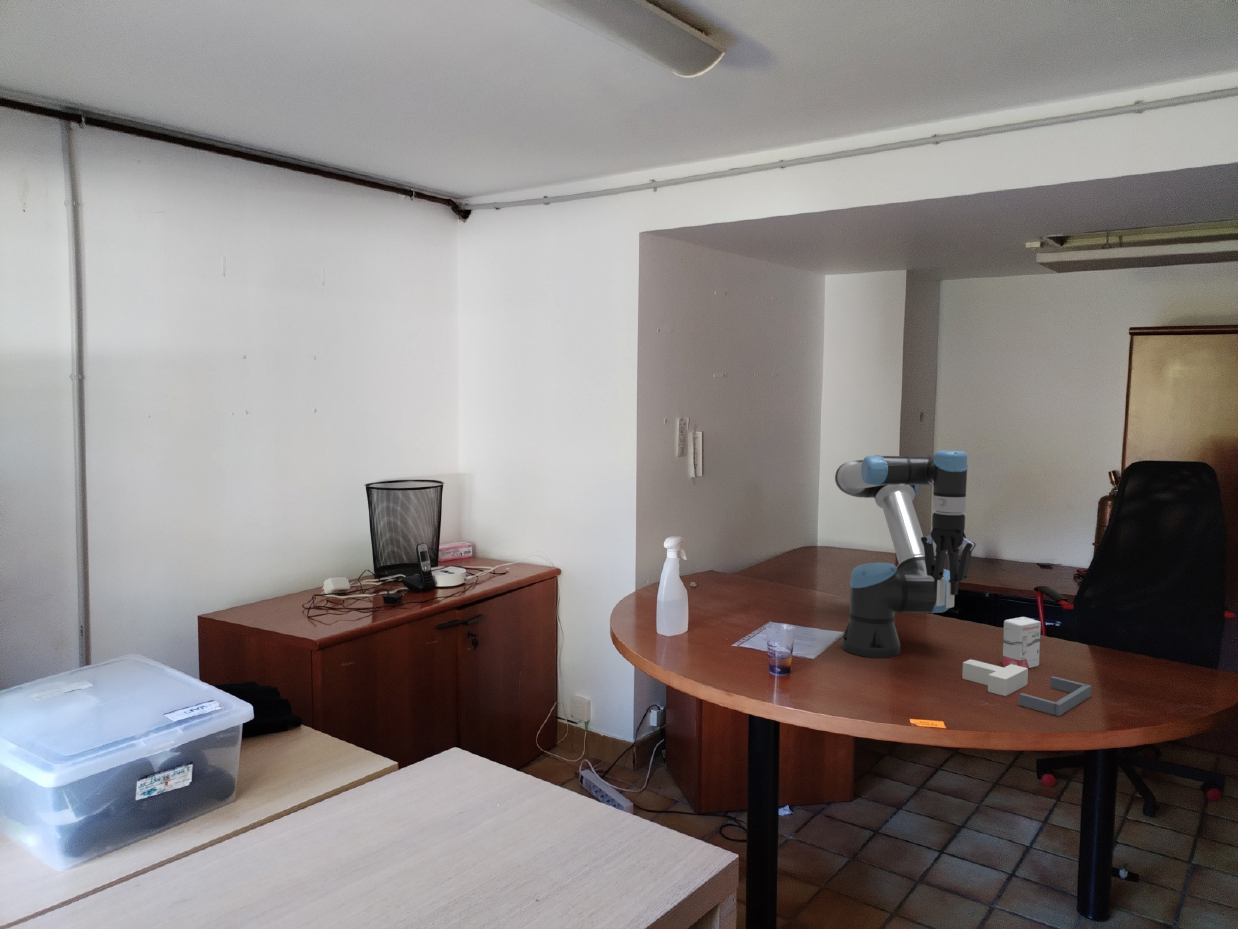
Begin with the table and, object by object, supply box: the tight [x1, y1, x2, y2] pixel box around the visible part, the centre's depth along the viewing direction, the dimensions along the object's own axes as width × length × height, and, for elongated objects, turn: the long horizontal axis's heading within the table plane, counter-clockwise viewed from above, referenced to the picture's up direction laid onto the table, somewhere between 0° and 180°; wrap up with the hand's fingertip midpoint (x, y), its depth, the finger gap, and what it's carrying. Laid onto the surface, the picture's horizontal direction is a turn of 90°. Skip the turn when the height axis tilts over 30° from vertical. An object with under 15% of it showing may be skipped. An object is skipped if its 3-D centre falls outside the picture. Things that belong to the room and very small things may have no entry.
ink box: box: [1002, 616, 1042, 669], centre depth 202 cm, size 9×5×12 cm, turn 118°
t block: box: [962, 658, 1029, 697], centre depth 189 cm, size 12×12×4 cm
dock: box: [1018, 675, 1092, 717], centre depth 178 cm, size 8×18×2 cm, turn 131°
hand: (945, 606), depth 197 cm, fingers open, 2 cm apart
